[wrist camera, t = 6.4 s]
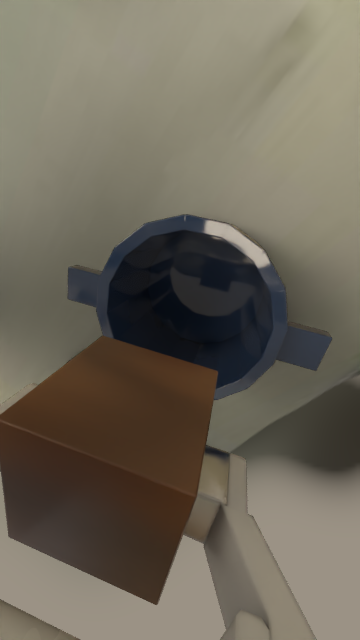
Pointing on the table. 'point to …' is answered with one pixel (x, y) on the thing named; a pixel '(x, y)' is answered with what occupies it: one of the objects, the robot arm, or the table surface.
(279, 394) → the table surface
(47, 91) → the table surface
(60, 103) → the table surface
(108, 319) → the pot
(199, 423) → the block
